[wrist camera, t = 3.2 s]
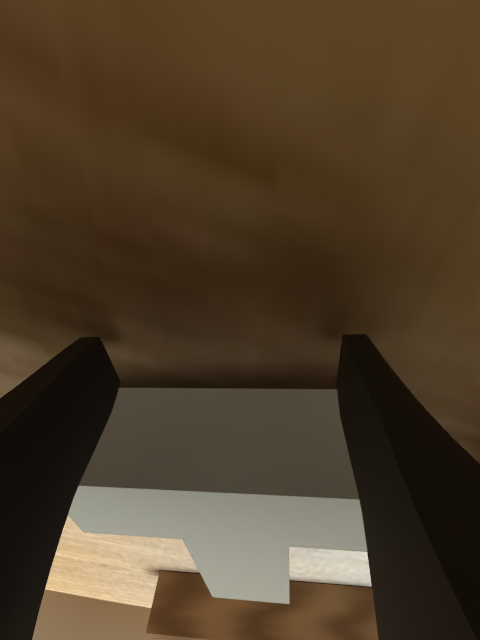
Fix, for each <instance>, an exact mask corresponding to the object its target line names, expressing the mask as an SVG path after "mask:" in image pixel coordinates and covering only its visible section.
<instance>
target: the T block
mask: <svg viewBox="0 0 480 640" xmlns="http://www.w3.org/2000/svg"><path fill="white" fill-rule="evenodd" d="M68 516H69V517H70V518H71V519H72V520H73V521H74V522H75V523H76V524H77V526H78V527H79V528H80V529H81V530H82V531H83V532H84V533H98V534H112V535H127V536H141V537H156V538H171V539H183V541H184V543H185V545H186V547H187V549H188V551H189V553H190V555H191V557H192V558H193V560H194V562H195V564H196V566H197V568H198V570H199V572H200V574H201V576H202V578H203V580H204V581H205V583H206V585H207V587H208V589H209V591H210V593H211V595H212V597H216V598H227V599H238V600H249V601H260V602H271V603H283V604H290V602H289V547H303V548H317V549H332V550H347V551H361V552H367V545H366V538H365V531H364V524H363V517H362V511H361V506H360V501H359V495H358V491H357V487H356V482H355V478H354V474H353V470H352V465H351V461H350V457H349V453H348V449H347V444H346V440H345V436H344V431H343V427H342V423H341V418H340V411H339V403H338V394H337V389H228V388H119V390H118V393H117V397H116V400H115V403H114V406H113V410H112V413H111V415H110V417H109V420H108V422H107V424H106V426H105V429H104V431H103V433H102V435H101V437H100V440H99V442H98V444H97V446H96V448H95V451H94V453H93V455H92V457H91V459H90V461H89V464H88V466H87V468H86V470H85V472H84V475H83V477H82V479H81V481H80V484H79V486H78V488H77V491H76V493H75V496H74V498H73V501H72V504H71V507H70V510H69V513H68Z"/></svg>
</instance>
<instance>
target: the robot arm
mask: <svg viewBox="0 0 480 640" xmlns="http://www.w3.org/2000/svg"><path fill="white" fill-rule="evenodd" d="M120 383H121V382H120V380H119V378H118V375H117V373H116V371H115V369H114V367H113V365H112V362H111V360H110V358H109V356H108V354H107V352H106V349H105V347H104V345H103V343H102V341H101V339H100V337H81V338H79V339H78V340H77V341H75V342H74V343H72V344H71V345H69V346H68V347H67V348H65V349H64V350H63V351H62V352H60V353H59V354H58V355H56V356H55V357H54V358H53V359H51V360H50V361H49V362H47V363H46V364H45V365H44V366H42V367H41V368H40V369H38V370H37V371H36V372H35V373H33V374H32V375H31V376H29V377H28V378H27V379H26V380H24V381H23V382H22V383H20V384H19V385H18V386H16V387H15V388H14V389H12V390H11V391H10V392H8V393H7V394H6V395H4V396H3V397H1V398H0V640H32V637H33V633H34V629H35V625H36V620H37V616H38V612H39V608H40V605H41V601H42V597H43V594H44V590H45V587H46V583H47V580H48V576H49V572H50V569H51V565H52V562H53V559H54V556H55V553H56V549H57V546H58V543H59V540H60V537H61V534H62V530H63V527H64V525H65V522H66V519H67V516H68V513H69V510H70V507H71V504H72V501H73V498H74V496H75V493H76V491H77V488H78V486H79V484H80V481H81V479H82V477H83V475H84V472H85V470H86V468H87V466H88V464H89V461H90V459H91V457H92V455H93V453H94V451H95V448H96V446H97V444H98V442H99V440H100V437H101V435H102V433H103V431H104V429H105V426H106V424H107V422H108V420H109V417H110V415H111V413H112V410H113V406H114V403H115V400H116V397H117V393H118V390H119V386H120ZM336 385H337V394H338V403H339V411H340V418H341V423H342V427H343V431H344V436H345V440H346V444H347V449H348V453H349V457H350V461H351V465H352V470H353V474H354V478H355V482H356V487H357V491H358V495H359V501H360V506H361V511H362V517H363V524H364V531H365V538H366V545H367V552H368V560H369V568H370V575H371V583H372V591H373V599H374V607H375V615H376V624H377V632H378V640H480V464H479V463H478V462H477V461H476V460H475V459H474V458H473V457H472V456H471V455H470V454H469V453H468V452H467V451H466V450H464V449H463V448H462V447H461V446H460V445H459V444H458V443H457V442H456V441H455V440H454V439H453V438H452V437H451V436H450V435H449V434H448V433H447V431H446V430H445V429H444V428H443V427H442V426H441V425H440V424H439V423H438V422H437V421H436V420H435V419H434V418H433V417H432V416H431V414H430V413H429V412H428V411H427V410H426V409H425V408H424V407H423V406H422V404H421V403H420V402H419V401H418V400H417V399H416V398H415V396H414V395H413V394H412V393H411V392H410V390H409V389H408V388H407V387H406V386H405V384H404V383H403V382H402V381H401V380H400V378H399V377H398V376H397V375H396V373H395V372H394V371H393V370H392V368H391V367H390V366H389V364H388V363H387V362H386V361H385V359H384V358H383V357H382V355H381V354H380V352H379V351H378V350H377V348H376V347H375V346H374V344H373V343H372V341H371V340H370V338H369V337H368V336H367V335H366V334H353V335H343V336H342V344H341V351H340V359H339V367H338V375H337V383H336Z"/></svg>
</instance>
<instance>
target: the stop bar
mask: <svg viewBox="0 0 480 640" xmlns="http://www.w3.org/2000/svg"><path fill="white" fill-rule="evenodd" d="M289 602H290V604H283V603H271V602H260V601H249V600H238V599H227V598H216V597H212V595H211V593H210V591H209V589H208V587H207V585H206V583H205V581H204V580H203V578H202V576H201V574H195V573H183V572H170V571H160V573H159V577H158V582H157V586H156V591H155V595H154V599H153V604H152V608H151V613H150V617H149V621H148V626H147V631H146V633H147V634H148V635H149V636H150V637H152V638H155V639H165V640H378V632H377V624H376V615H375V607H374V599H373V591H372V588H370V587H358V586H345V585H333V584H320V583H308V582H295V581H289Z"/></svg>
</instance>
